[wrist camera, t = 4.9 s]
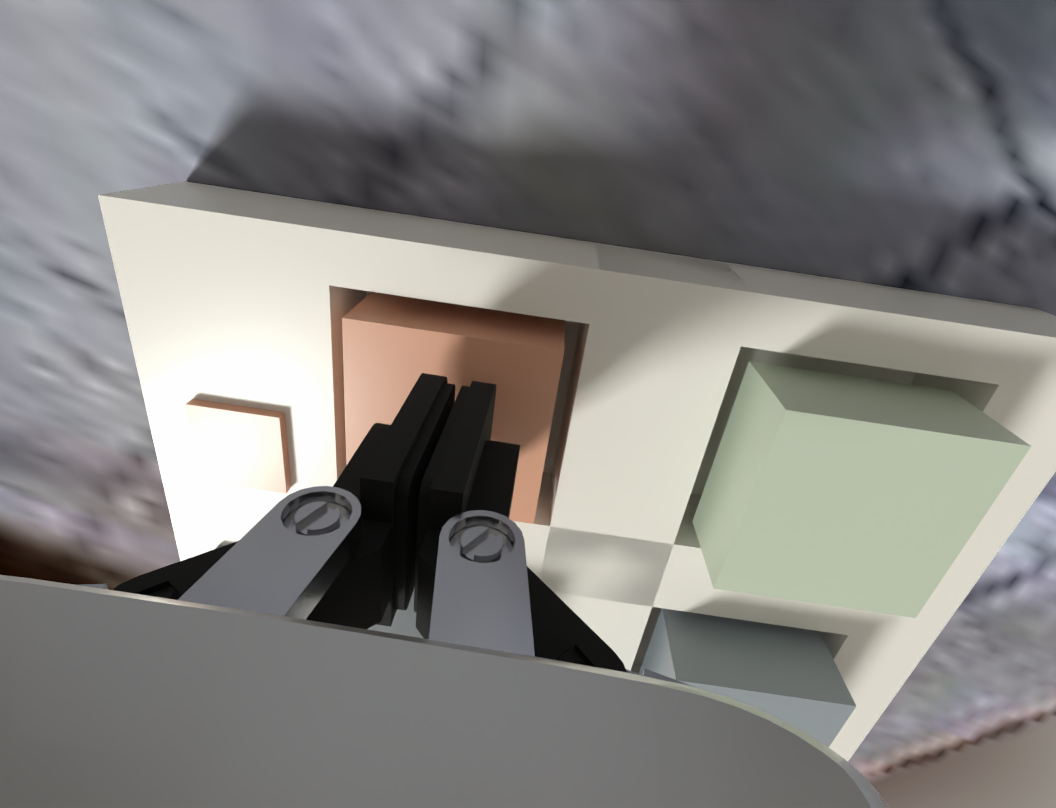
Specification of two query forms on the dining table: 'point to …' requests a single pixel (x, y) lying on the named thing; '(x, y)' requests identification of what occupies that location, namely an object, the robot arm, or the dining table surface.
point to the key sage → (847, 488)
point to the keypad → (582, 397)
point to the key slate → (754, 667)
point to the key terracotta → (456, 372)
